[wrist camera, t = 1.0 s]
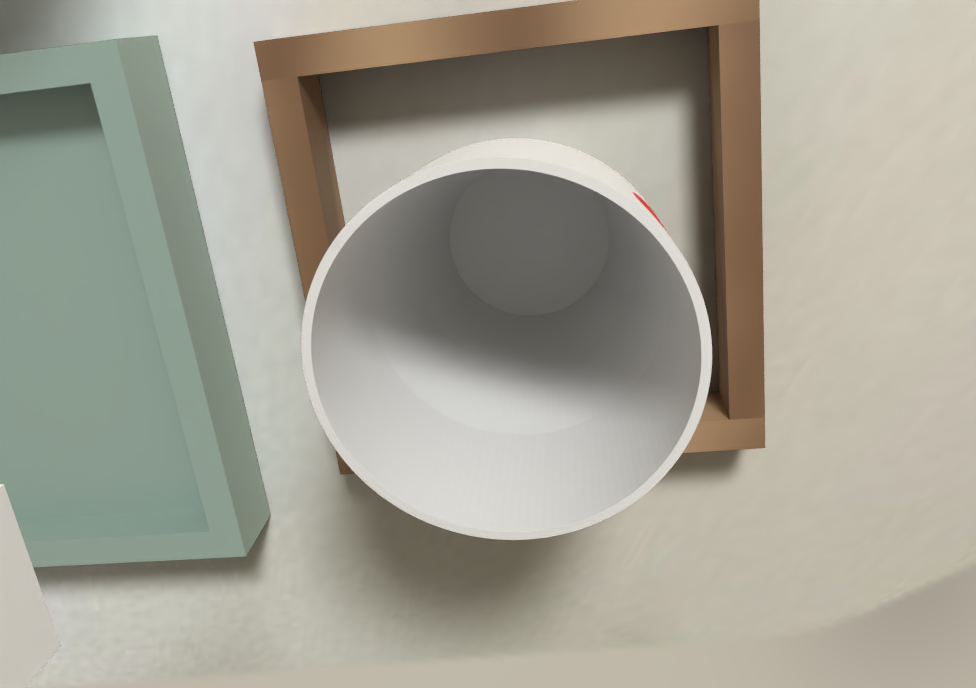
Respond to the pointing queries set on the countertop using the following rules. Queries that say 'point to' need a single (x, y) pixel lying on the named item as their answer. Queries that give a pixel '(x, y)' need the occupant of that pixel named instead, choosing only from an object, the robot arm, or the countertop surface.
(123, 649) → the countertop surface
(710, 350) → the cup
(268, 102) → the frame
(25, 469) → the tray
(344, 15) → the countertop surface
